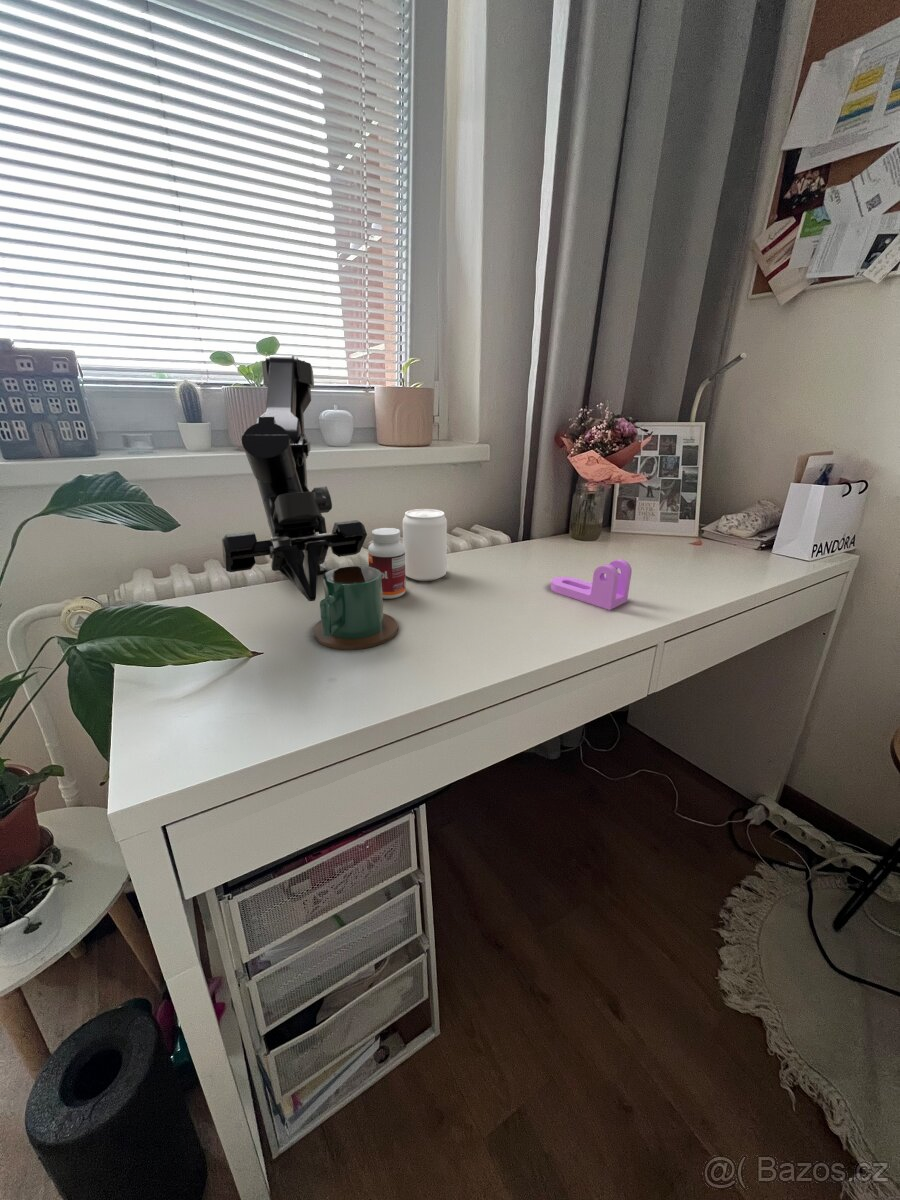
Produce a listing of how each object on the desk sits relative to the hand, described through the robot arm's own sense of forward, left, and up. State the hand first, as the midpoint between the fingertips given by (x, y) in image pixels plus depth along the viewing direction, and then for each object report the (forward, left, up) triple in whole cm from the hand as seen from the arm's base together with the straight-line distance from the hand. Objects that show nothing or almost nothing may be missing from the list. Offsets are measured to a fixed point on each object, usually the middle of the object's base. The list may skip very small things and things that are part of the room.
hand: (312, 600), depth 67 cm
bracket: (+18, +42, -7) cm, 46 cm away
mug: (+1, +5, -6) cm, 8 cm away
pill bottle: (-7, +19, -7) cm, 22 cm away
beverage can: (-9, +30, -7) cm, 32 cm away
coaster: (+1, +6, -6) cm, 9 cm away
